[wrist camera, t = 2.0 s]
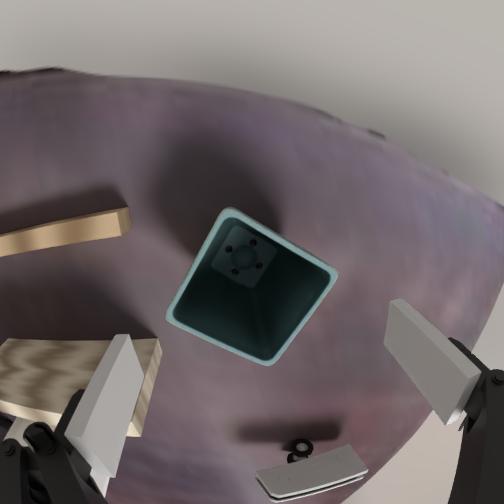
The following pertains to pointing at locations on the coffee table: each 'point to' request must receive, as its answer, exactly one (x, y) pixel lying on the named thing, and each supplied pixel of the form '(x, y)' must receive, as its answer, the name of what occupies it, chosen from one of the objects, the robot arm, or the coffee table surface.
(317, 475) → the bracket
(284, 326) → the flower pot
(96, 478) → the container
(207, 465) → the coffee table surface
